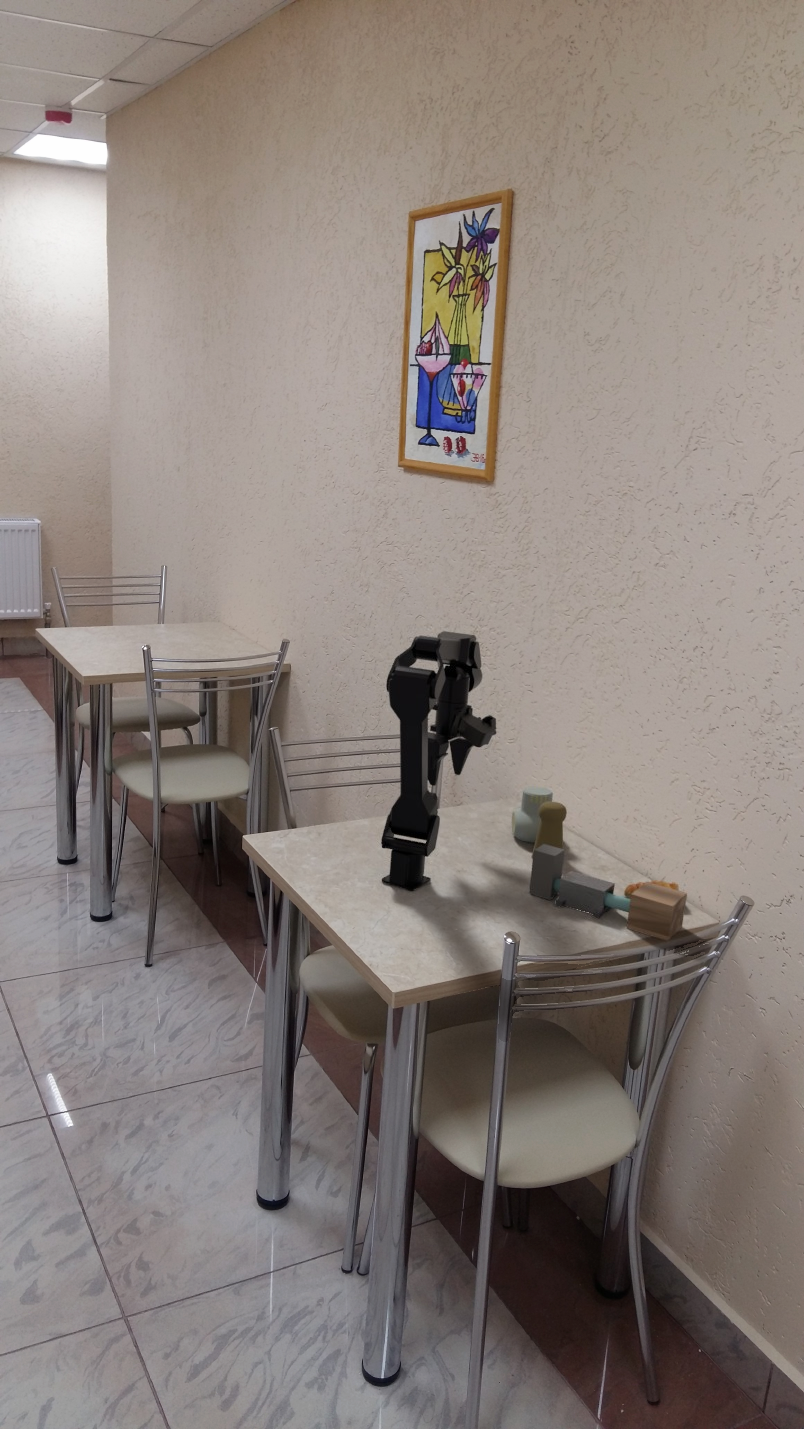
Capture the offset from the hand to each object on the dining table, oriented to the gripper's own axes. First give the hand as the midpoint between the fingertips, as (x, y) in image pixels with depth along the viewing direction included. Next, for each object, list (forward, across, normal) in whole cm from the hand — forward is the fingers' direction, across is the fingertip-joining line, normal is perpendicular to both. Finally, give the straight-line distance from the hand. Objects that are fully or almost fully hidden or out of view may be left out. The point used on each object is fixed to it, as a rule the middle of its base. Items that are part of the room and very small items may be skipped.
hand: (445, 779), depth 209 cm
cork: (+13, +8, -19) cm, 24 cm away
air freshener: (+13, +16, -12) cm, 24 cm away
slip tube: (+13, -8, -36) cm, 39 cm away
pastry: (+14, +3, -42) cm, 44 cm away
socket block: (+13, -8, -46) cm, 48 cm away
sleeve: (+13, -8, -34) cm, 37 cm away
